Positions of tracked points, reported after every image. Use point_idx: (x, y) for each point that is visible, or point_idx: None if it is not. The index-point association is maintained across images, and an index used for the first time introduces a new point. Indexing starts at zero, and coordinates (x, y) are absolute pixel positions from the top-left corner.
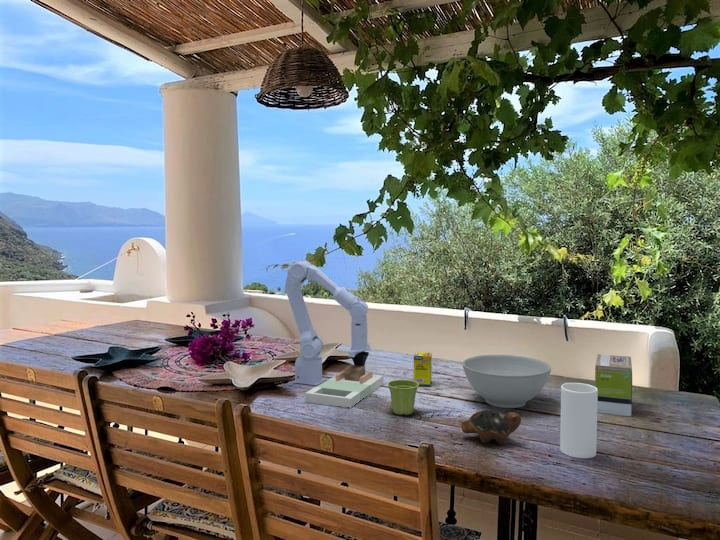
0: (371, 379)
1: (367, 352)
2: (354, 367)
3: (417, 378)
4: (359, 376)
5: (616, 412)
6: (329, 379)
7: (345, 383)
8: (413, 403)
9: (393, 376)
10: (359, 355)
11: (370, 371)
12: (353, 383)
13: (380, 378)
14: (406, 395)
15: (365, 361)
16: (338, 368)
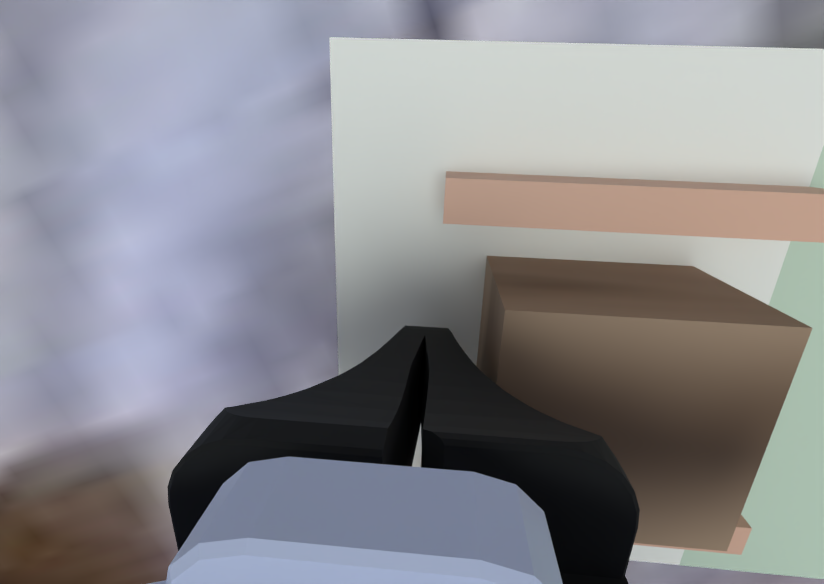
0: (565, 141)
1: (225, 478)
2: (638, 443)
3: None
4: (715, 284)
5: None
6: (661, 558)
7: (806, 383)
8: None
9: (29, 55)
10: (612, 579)
11: (454, 207)
12: (799, 299)
13: (450, 41)
14: None
15: (347, 374)
16: (102, 578)
